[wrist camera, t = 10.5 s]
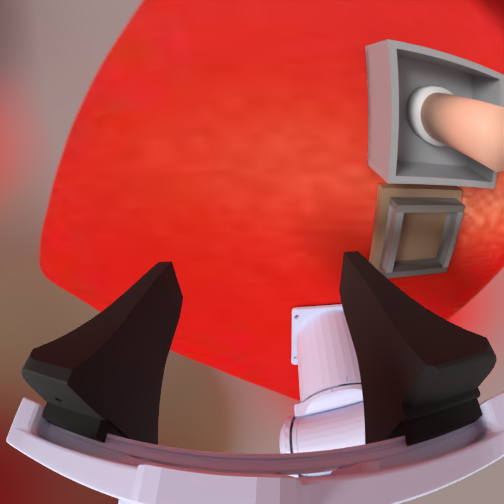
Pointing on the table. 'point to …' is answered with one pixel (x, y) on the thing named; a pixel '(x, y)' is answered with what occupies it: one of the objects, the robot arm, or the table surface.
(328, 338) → the robot arm
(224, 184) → the table surface
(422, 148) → the bin
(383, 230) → the square framed plate
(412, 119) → the peach cylinder
